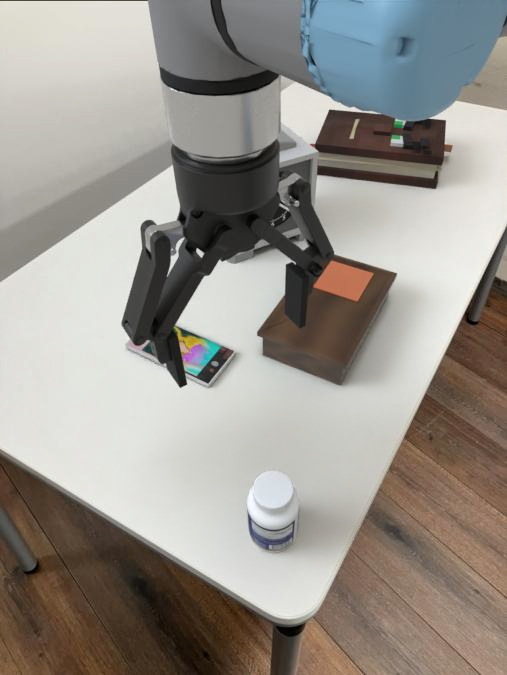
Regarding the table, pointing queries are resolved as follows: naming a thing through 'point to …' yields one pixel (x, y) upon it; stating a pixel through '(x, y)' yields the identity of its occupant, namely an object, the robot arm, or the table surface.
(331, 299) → the wooden box
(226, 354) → the smartphone
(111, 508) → the table surface
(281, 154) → the alarm clock
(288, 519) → the pill bottle
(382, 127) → the decorative book
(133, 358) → the table surface
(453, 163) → the table surface
